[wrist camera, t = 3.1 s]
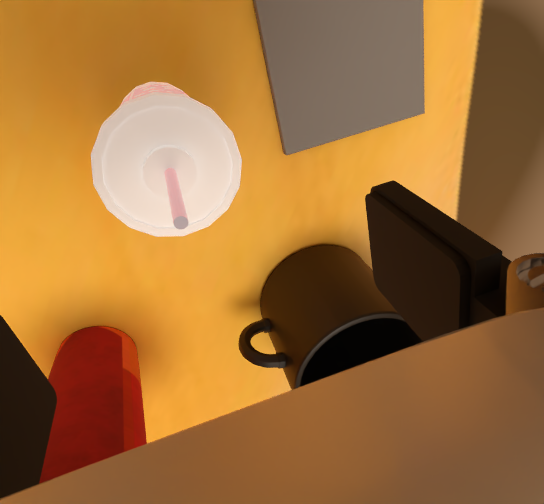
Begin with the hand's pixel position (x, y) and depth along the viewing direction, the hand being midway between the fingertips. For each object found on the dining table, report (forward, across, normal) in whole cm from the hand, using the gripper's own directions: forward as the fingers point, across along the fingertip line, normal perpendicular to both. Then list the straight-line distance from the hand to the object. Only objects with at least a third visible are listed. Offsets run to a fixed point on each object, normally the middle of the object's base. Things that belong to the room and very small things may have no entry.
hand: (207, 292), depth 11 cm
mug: (+18, -6, +15) cm, 24 cm away
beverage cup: (+18, 0, -1) cm, 18 cm away
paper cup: (+18, +10, +14) cm, 25 cm away
